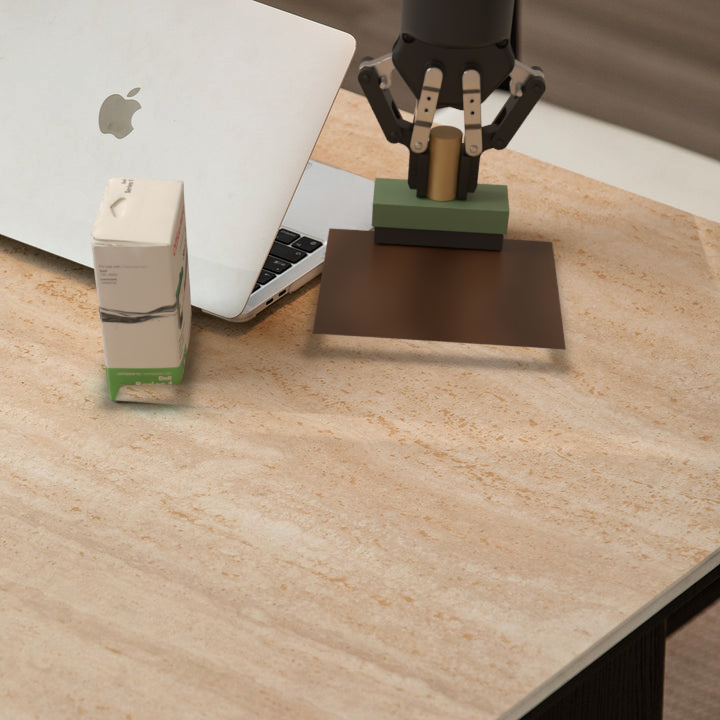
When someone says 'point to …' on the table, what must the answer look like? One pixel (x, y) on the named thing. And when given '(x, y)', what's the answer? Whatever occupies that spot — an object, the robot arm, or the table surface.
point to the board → (439, 292)
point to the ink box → (142, 282)
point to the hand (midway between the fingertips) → (441, 192)
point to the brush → (440, 204)
